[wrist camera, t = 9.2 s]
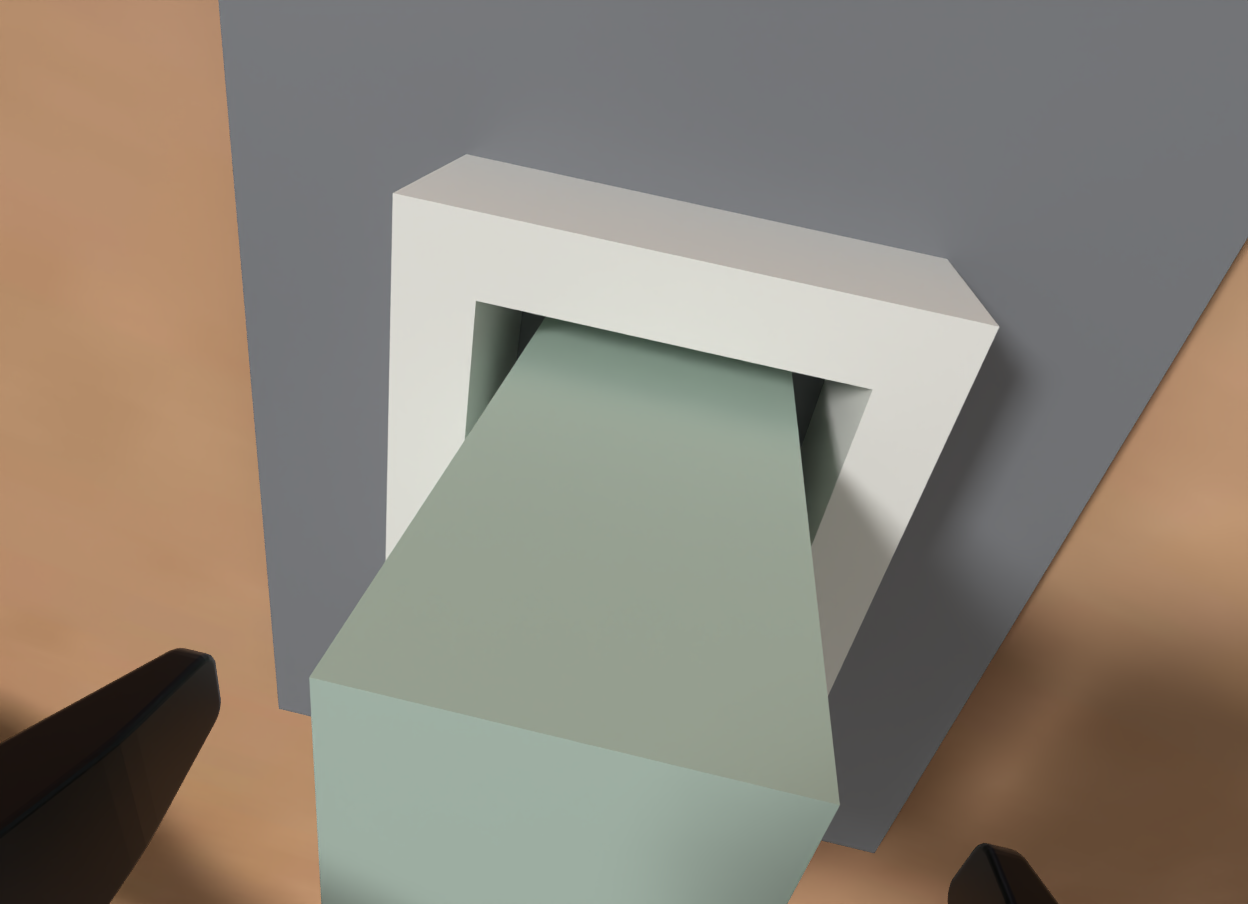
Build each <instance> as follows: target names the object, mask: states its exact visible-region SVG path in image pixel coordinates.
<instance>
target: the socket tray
mask: <svg viewBox="0 0 1248 904" xmlns="http://www.w3.org/2000/svg"><path fill="white" fill-rule="evenodd" d="M219 12H220V24H221V35H222V47H223V59H224V70H225V82H226V94H227V106H228V117H229V129H230V141H231V152H232V164H233V176H234V188H235V199H236V211H237V223H238V234H239V246H240V258H241V270H242V281H243V293H244V305H245V316H246V328H247V340H248V351H249V363H250V375H251V387H252V398H253V410H254V422H255V433H256V445H257V457H258V469H259V480H260V492H261V504H262V515H263V527H264V539H265V551H266V562H267V574H268V586H269V597H270V609H271V621H272V633H273V644H274V656H275V668H276V679H277V691H278V703H279V709H283V710H287V711H291V712H295V713H299V714H303V715H307V716H311V701H310V682H309V677H310V675H311V674H312V672H313V671H314V669H315V668H316V666H317V665H318V663H319V662H320V660H321V659H322V657H323V656H324V654H325V652H326V651H327V649H328V648H329V646H330V645H331V643H332V642H333V640H334V639H335V637H336V636H337V634H338V633H339V631H340V630H341V628H342V627H343V625H344V624H345V622H346V620H347V619H348V617H349V616H350V614H351V613H352V611H353V610H354V608H355V607H356V605H357V604H358V602H359V601H360V599H361V598H362V596H363V595H364V593H365V592H366V590H367V588H368V587H369V585H370V584H371V582H372V581H373V579H374V578H375V576H376V575H377V573H378V572H379V570H380V569H381V567H382V566H383V564H384V563H385V561H386V560H387V558H388V556H389V555H390V553H391V552H392V550H393V549H394V547H395V546H396V544H397V543H398V541H399V540H400V538H401V537H402V535H403V534H404V532H405V531H406V529H407V527H408V526H409V524H410V523H411V521H412V520H413V518H414V517H415V515H416V514H417V512H418V511H419V509H420V508H421V506H422V505H423V503H424V502H425V500H426V499H427V497H428V495H429V494H430V492H431V491H432V489H433V488H434V486H435V485H436V483H437V482H438V480H439V479H440V477H441V476H442V474H443V473H444V471H445V470H446V468H447V467H448V465H449V463H450V462H451V460H452V459H453V457H454V456H455V454H456V453H457V451H458V450H459V448H460V447H461V445H462V444H463V442H464V441H465V439H466V438H467V436H468V435H469V433H470V431H471V430H472V428H473V427H474V425H475V424H476V422H477V421H478V419H479V418H480V416H481V415H482V413H483V412H484V410H485V409H486V407H487V406H488V404H489V403H490V401H491V399H492V398H493V396H494V395H495V393H496V392H497V390H498V389H499V387H500V386H501V384H502V383H503V381H504V380H505V378H506V377H507V375H508V374H509V372H510V370H511V369H512V367H513V366H514V364H515V363H516V361H517V360H518V358H519V357H520V355H521V354H522V352H523V351H524V349H525V348H526V346H527V345H528V343H529V342H530V340H531V338H532V337H533V335H534V334H535V332H536V331H537V329H538V328H539V326H540V325H541V323H542V322H543V320H544V319H545V317H551V318H555V319H560V320H564V321H569V322H573V323H578V324H582V325H587V326H591V327H595V328H600V329H604V330H609V331H613V332H618V333H622V334H627V335H631V336H636V337H640V338H645V339H649V340H653V341H658V342H662V343H667V344H671V345H676V346H680V347H685V348H689V349H694V350H698V351H702V352H707V353H711V354H716V355H720V356H725V357H729V358H734V359H738V360H743V361H747V362H752V363H756V364H760V365H765V366H769V367H774V368H778V369H783V370H787V371H792V380H793V389H794V398H795V407H796V416H797V425H798V434H799V443H800V452H801V461H802V470H803V478H804V487H805V496H806V505H807V514H808V523H809V532H810V541H811V550H812V559H813V568H814V577H815V586H816V595H817V604H818V613H819V622H820V631H821V640H822V649H823V658H824V667H825V676H826V685H827V694H828V703H829V712H830V721H831V730H832V739H833V748H834V757H835V766H836V775H837V784H838V793H839V802H840V806H839V808H838V810H837V811H836V813H835V815H834V817H833V819H832V821H831V823H830V825H829V826H828V828H827V830H826V832H825V834H824V836H823V838H822V841H826V842H830V843H834V844H838V845H843V846H847V847H851V848H855V849H859V850H863V851H867V852H871V853H875V851H876V850H877V848H878V846H879V845H880V843H881V841H882V840H883V838H884V837H885V835H886V833H887V832H888V830H889V828H890V827H891V825H892V823H893V822H894V820H895V818H896V817H897V815H898V813H899V812H900V810H901V808H902V807H903V805H904V804H905V802H906V800H907V799H908V797H909V795H910V794H911V792H912V790H913V789H914V787H915V785H916V784H917V782H918V780H919V779H920V777H921V776H922V774H923V772H924V771H925V769H926V767H927V766H928V764H929V762H930V761H931V759H932V757H933V756H934V754H935V752H936V751H937V749H938V747H939V746H940V744H941V743H942V741H943V739H944V738H945V736H946V734H947V733H948V731H949V729H950V728H951V726H952V724H953V723H954V721H955V719H956V718H957V716H958V714H959V713H960V711H961V710H962V708H963V706H964V705H965V703H966V701H967V700H968V698H969V696H970V695H971V693H972V691H973V690H974V688H975V686H976V685H977V683H978V682H979V680H980V678H981V677H982V675H983V673H984V672H985V670H986V668H987V667H988V665H989V663H990V662H991V660H992V658H993V657H994V655H995V653H996V652H997V650H998V649H999V647H1000V645H1001V644H1002V642H1003V640H1004V639H1005V637H1006V635H1007V634H1008V632H1009V630H1010V629H1011V627H1012V625H1013V624H1014V622H1015V620H1016V619H1017V617H1018V616H1019V614H1020V612H1021V611H1022V609H1023V607H1024V606H1025V604H1026V602H1027V601H1028V599H1029V597H1030V596H1031V594H1032V592H1033V591H1034V589H1035V588H1036V586H1037V584H1038V583H1039V581H1040V579H1041V578H1042V576H1043V574H1044V573H1045V571H1046V569H1047V568H1048V566H1049V564H1050V563H1051V561H1052V559H1053V558H1054V556H1055V555H1056V553H1057V551H1058V550H1059V548H1060V546H1061V545H1062V543H1063V541H1064V540H1065V538H1066V536H1067V535H1068V533H1069V531H1070V530H1071V528H1072V526H1073V525H1074V523H1075V522H1076V520H1077V518H1078V517H1079V515H1080V513H1081V512H1082V510H1083V508H1084V507H1085V505H1086V503H1087V502H1088V500H1089V498H1090V497H1091V495H1092V494H1093V492H1094V490H1095V489H1096V487H1097V485H1098V484H1099V482H1100V480H1101V479H1102V477H1103V475H1104V474H1105V472H1106V470H1107V469H1108V467H1109V465H1110V464H1111V462H1112V461H1113V459H1114V457H1115V456H1116V454H1117V452H1118V451H1119V449H1120V447H1121V446H1122V444H1123V442H1124V441H1125V439H1126V437H1127V436H1128V434H1129V432H1130V431H1131V429H1132V428H1133V426H1134V424H1135V423H1136V421H1137V419H1138V418H1139V416H1140V414H1141V413H1142V411H1143V409H1144V408H1145V406H1146V404H1147V403H1148V401H1149V400H1150V398H1151V396H1152V395H1153V393H1154V391H1155V390H1156V388H1157V386H1158V385H1159V383H1160V381H1161V380H1162V378H1163V376H1164V375H1165V373H1166V371H1167V370H1168V368H1169V367H1170V365H1171V363H1172V362H1173V360H1174V358H1175V357H1176V355H1177V353H1178V352H1179V350H1180V348H1181V347H1182V345H1183V343H1184V342H1185V340H1186V338H1187V337H1188V335H1189V334H1190V332H1191V330H1192V329H1193V327H1194V325H1195V324H1196V322H1197V320H1198V319H1199V317H1200V315H1201V314H1202V312H1203V310H1204V309H1205V307H1206V306H1207V304H1208V302H1209V301H1210V299H1211V297H1212V296H1213V294H1214V292H1215V291H1216V289H1217V287H1218V286H1219V284H1220V282H1221V281H1222V279H1223V277H1224V276H1225V274H1226V273H1227V271H1228V269H1229V268H1230V266H1231V264H1232V263H1233V261H1234V259H1235V258H1236V256H1237V254H1238V253H1239V251H1240V249H1241V248H1242V246H1243V244H1244V243H1245V241H1246V240H1247V238H1248V0H219Z"/></svg>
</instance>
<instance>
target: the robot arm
mask: <svg viewBox="0 0 1248 904" xmlns="http://www.w3.org/2000/svg"><path fill="white" fill-rule="evenodd" d="M220 704H221V698H220V691H219V684H218V677H217V670H216V663H215V660H214V659H213V657H212V656H211V655H209V654H206V653H202V652H198V651H194V650H190V649H185V648H177V649H174V650H171V651H168V652H166V653H165V654H163V655H161V656H159V657H157V658H155V659H154V660H152V661H150V662H148V663H146V664H144V665H143V666H141V667H139V668H137V669H135V670H133V671H132V672H130V673H128V674H126V675H124V676H122V677H121V678H119V679H117V680H115V681H113V682H111V683H110V684H108V685H106V686H104V687H102V688H100V689H99V690H97V691H95V692H93V693H91V694H89V695H88V696H86V697H84V698H82V699H80V700H78V701H77V702H75V703H73V704H71V705H69V706H67V707H66V708H64V709H62V710H60V711H58V712H56V713H55V714H53V715H51V716H49V717H47V718H45V719H44V720H42V721H40V722H38V723H36V724H34V725H33V726H31V727H29V728H27V729H25V730H23V731H22V732H20V733H18V734H16V735H14V736H12V737H11V738H9V739H7V740H5V741H3V742H1V743H0V904H110V902H111V901H112V899H113V898H114V896H115V895H116V893H117V892H118V890H119V889H120V887H121V886H122V884H123V883H124V881H125V880H126V878H127V877H128V875H129V874H130V872H131V871H132V869H133V868H134V866H135V865H136V863H137V862H138V860H139V859H140V857H141V855H142V854H143V852H144V851H145V849H146V848H147V846H148V844H149V843H150V841H151V839H152V837H153V836H154V834H155V832H156V830H157V829H158V827H159V825H160V823H161V821H162V819H163V818H164V816H165V814H166V812H167V810H168V808H169V807H170V805H171V803H172V801H173V799H174V797H175V795H176V794H177V792H178V790H179V788H180V786H181V784H182V783H183V781H184V779H185V777H186V775H187V773H188V771H189V770H190V768H191V766H192V764H193V762H194V760H195V759H196V757H197V755H198V753H199V751H200V749H201V747H202V746H203V744H204V742H205V740H206V738H207V736H208V735H209V733H210V731H211V729H212V727H213V725H214V723H215V721H216V719H217V717H218V714H219V710H220ZM948 904H1058V902H1057V901H1056V900H1055V898H1054V897H1053V896H1052V894H1051V893H1050V892H1049V890H1048V889H1047V888H1046V886H1045V885H1044V884H1043V882H1042V881H1041V879H1040V878H1039V877H1038V875H1037V874H1036V873H1035V871H1034V870H1033V869H1032V867H1031V866H1030V865H1029V863H1028V862H1027V861H1026V859H1025V858H1024V857H1023V856H1022V855H1021V854H1019V853H1018V852H1016V851H1014V850H1012V849H1008V848H1004V847H1000V846H996V845H991V844H987V843H983V844H980V845H978V846H977V847H976V848H975V849H974V850H973V852H972V853H971V854H970V856H969V857H968V859H967V860H966V861H965V863H964V864H963V866H962V867H961V868H960V870H959V871H958V872H957V874H956V875H955V877H954V878H953V880H952V882H951V884H950V887H949V892H948Z"/></svg>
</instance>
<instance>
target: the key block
mask: <svg viewBox="0 0 1248 904" xmlns="http://www.w3.org/2000/svg"><path fill="white" fill-rule="evenodd" d="M309 682H310V701H311V720H312V738H313V757H314V775H315V794H316V812H317V831H318V849H319V868H320V887H321V904H787V903H788V901H789V899H790V898H791V896H792V894H793V892H794V890H795V888H796V886H797V885H798V883H799V881H800V879H801V877H802V875H803V873H804V871H805V870H806V868H807V866H808V864H809V862H810V860H811V858H812V856H813V855H814V853H815V851H816V849H817V847H818V845H819V843H820V841H821V840H822V838H823V836H824V834H825V832H826V830H827V828H828V826H829V825H830V823H831V821H832V819H833V817H834V815H835V813H836V811H837V810H838V808H839V806H840V802H839V793H838V784H837V775H836V766H835V757H834V748H833V739H832V730H831V721H830V712H829V703H828V694H827V685H826V676H825V667H824V658H823V649H822V640H821V631H820V622H819V613H818V604H817V595H816V586H815V577H814V568H813V559H812V550H811V541H810V532H809V523H808V514H807V505H806V496H805V487H804V478H803V470H802V461H801V452H800V443H799V434H798V425H797V416H796V407H795V398H794V389H793V380H792V371H787V370H783V369H778V368H774V367H769V366H765V365H760V364H756V363H752V362H747V361H743V360H738V359H734V358H729V357H725V356H720V355H716V354H711V353H707V352H702V351H698V350H694V349H689V348H685V347H680V346H676V345H671V344H667V343H662V342H658V341H653V340H649V339H645V338H640V337H636V336H631V335H627V334H622V333H618V332H613V331H609V330H604V329H600V328H595V327H591V326H587V325H582V324H578V323H573V322H569V321H564V320H560V319H555V318H551V317H545V319H544V320H543V322H542V323H541V325H540V326H539V328H538V329H537V331H536V332H535V334H534V335H533V337H532V338H531V340H530V342H529V343H528V345H527V346H526V348H525V349H524V351H523V352H522V354H521V355H520V357H519V358H518V360H517V361H516V363H515V364H514V366H513V367H512V369H511V370H510V372H509V374H508V375H507V377H506V378H505V380H504V381H503V383H502V384H501V386H500V387H499V389H498V390H497V392H496V393H495V395H494V396H493V398H492V399H491V401H490V403H489V404H488V406H487V407H486V409H485V410H484V412H483V413H482V415H481V416H480V418H479V419H478V421H477V422H476V424H475V425H474V427H473V428H472V430H471V431H470V433H469V435H468V436H467V438H466V439H465V441H464V442H463V444H462V445H461V447H460V448H459V450H458V451H457V453H456V454H455V456H454V457H453V459H452V460H451V462H450V463H449V465H448V467H447V468H446V470H445V471H444V473H443V474H442V476H441V477H440V479H439V480H438V482H437V483H436V485H435V486H434V488H433V489H432V491H431V492H430V494H429V495H428V497H427V499H426V500H425V502H424V503H423V505H422V506H421V508H420V509H419V511H418V512H417V514H416V515H415V517H414V518H413V520H412V521H411V523H410V524H409V526H408V527H407V529H406V531H405V532H404V534H403V535H402V537H401V538H400V540H399V541H398V543H397V544H396V546H395V547H394V549H393V550H392V552H391V553H390V555H389V556H388V558H387V560H386V561H385V563H384V564H383V566H382V567H381V569H380V570H379V572H378V573H377V575H376V576H375V578H374V579H373V581H372V582H371V584H370V585H369V587H368V588H367V590H366V592H365V593H364V595H363V596H362V598H361V599H360V601H359V602H358V604H357V605H356V607H355V608H354V610H353V611H352V613H351V614H350V616H349V617H348V619H347V620H346V622H345V624H344V625H343V627H342V628H341V630H340V631H339V633H338V634H337V636H336V637H335V639H334V640H333V642H332V643H331V645H330V646H329V648H328V649H327V651H326V652H325V654H324V656H323V657H322V659H321V660H320V662H319V663H318V665H317V666H316V668H315V669H314V671H313V672H312V674H311V675H310V677H309Z"/></svg>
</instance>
